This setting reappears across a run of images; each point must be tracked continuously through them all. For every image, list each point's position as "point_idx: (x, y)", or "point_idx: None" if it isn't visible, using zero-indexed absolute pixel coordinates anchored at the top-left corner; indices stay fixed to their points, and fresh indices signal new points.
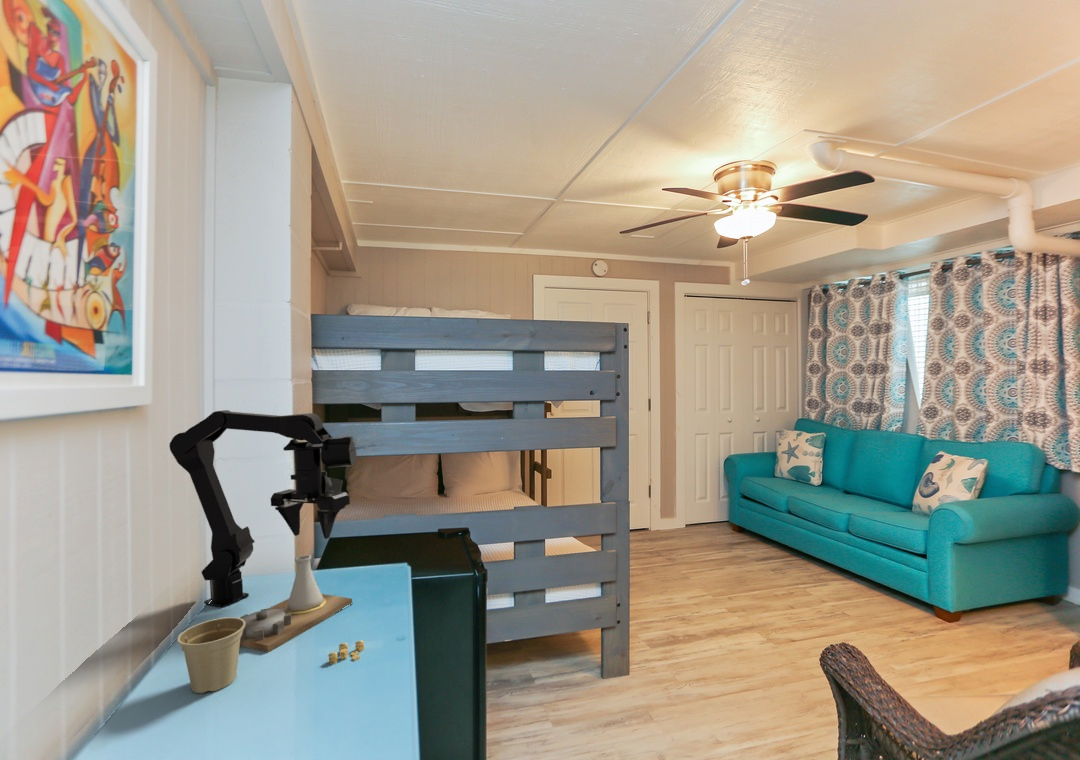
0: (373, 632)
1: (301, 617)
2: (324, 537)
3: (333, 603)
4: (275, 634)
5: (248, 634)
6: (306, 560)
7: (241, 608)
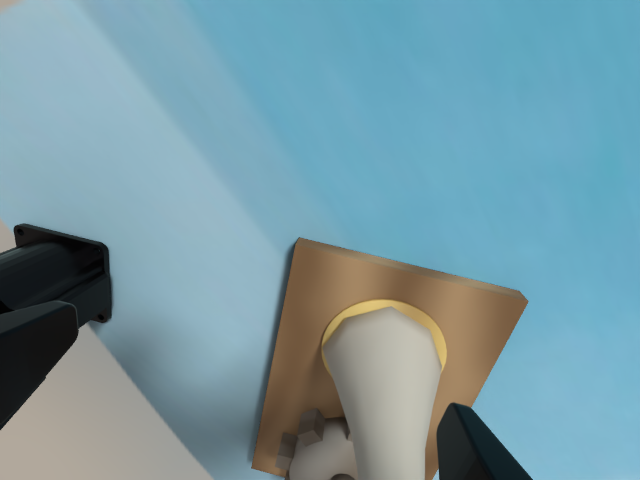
0: None
1: None
2: (441, 450)
3: (471, 335)
4: None
5: None
6: None
7: (166, 319)
